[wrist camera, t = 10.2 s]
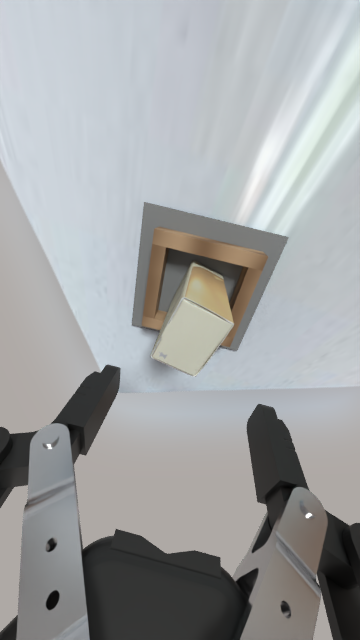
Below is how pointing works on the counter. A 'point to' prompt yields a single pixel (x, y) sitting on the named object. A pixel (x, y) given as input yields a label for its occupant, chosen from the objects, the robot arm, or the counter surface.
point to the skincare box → (194, 321)
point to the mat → (202, 258)
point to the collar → (208, 248)
